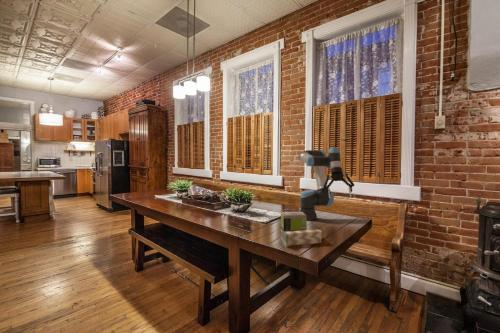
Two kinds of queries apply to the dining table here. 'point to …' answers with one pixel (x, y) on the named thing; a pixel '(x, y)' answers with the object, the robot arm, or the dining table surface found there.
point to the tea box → (293, 221)
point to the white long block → (301, 237)
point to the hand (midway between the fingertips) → (340, 197)
